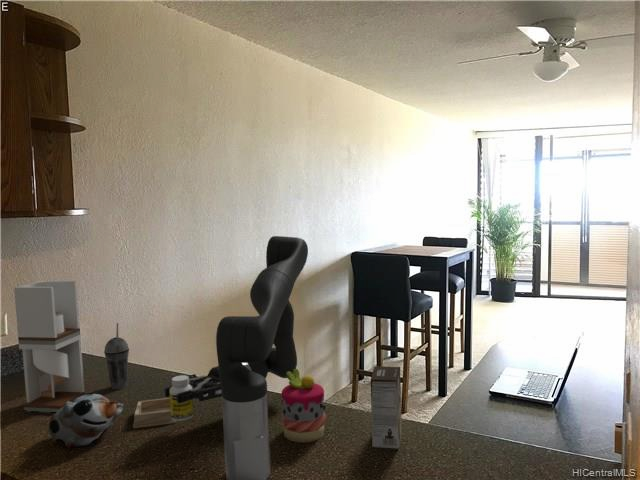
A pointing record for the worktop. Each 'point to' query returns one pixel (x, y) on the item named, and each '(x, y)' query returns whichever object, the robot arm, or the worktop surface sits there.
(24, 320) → the white shelf stand
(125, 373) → the beverage cup
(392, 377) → the coffee box
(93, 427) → the lucky cat figurine
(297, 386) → the cake
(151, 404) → the birch dock
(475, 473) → the worktop surface
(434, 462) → the worktop surface
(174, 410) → the supplement bottle
